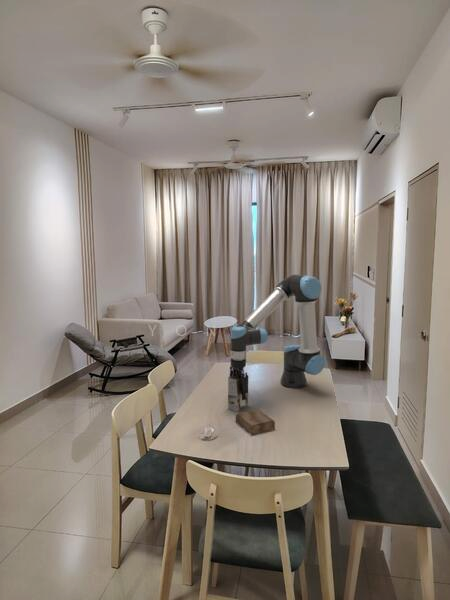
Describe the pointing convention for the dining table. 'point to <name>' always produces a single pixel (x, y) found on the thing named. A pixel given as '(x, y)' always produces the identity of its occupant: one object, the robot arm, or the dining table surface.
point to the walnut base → (255, 421)
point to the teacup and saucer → (208, 431)
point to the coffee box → (235, 393)
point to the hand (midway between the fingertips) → (238, 402)
